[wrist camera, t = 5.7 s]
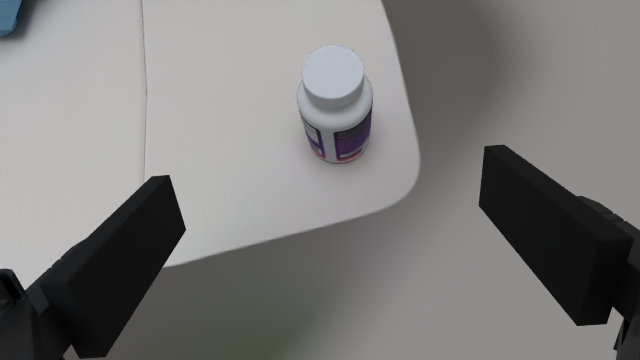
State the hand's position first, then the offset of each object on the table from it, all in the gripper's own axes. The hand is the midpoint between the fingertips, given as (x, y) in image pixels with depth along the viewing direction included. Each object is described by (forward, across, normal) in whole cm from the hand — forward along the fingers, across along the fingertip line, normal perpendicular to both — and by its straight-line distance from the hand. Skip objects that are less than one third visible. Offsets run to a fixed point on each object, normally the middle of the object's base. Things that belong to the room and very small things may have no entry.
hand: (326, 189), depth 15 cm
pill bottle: (+17, +1, -3) cm, 17 cm away
